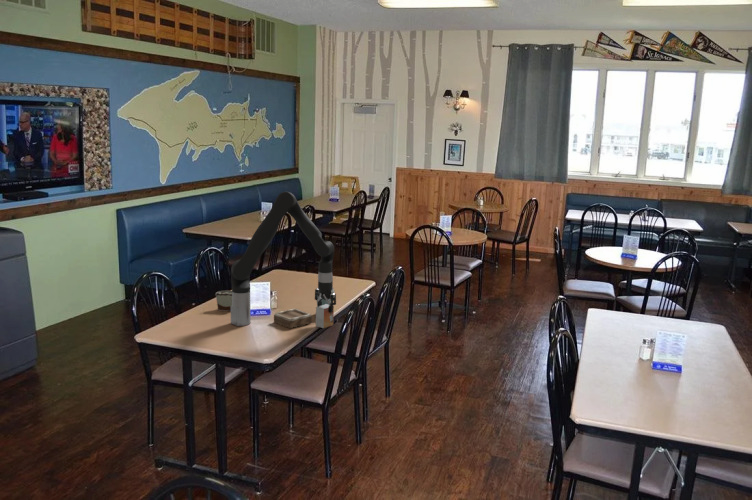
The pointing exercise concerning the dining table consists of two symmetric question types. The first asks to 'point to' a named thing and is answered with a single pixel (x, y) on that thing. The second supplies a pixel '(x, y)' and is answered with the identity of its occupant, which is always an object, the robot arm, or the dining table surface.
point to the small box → (324, 316)
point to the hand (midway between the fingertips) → (325, 310)
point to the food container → (224, 300)
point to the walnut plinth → (292, 318)
